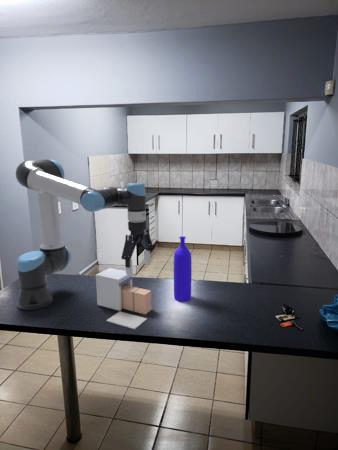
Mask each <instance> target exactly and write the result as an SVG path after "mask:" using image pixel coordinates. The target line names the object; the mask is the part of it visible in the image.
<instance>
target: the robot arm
mask: <svg viewBox="0 0 338 450" xmlns="http://www.w3.org/2000/svg"><path fill="white" fill-rule="evenodd" d="M15 178H16V180H17V182H18V183H19V184H20V185H21V186H22V187H24V188H26V189H29V190H32V191H35V192H36V193H37V198H38V208H39V217H40V218H39V219H40V227H41V239H42V243H41V245H39V250H32V251H28V252H26V253H23V254H21V255H20V256H18V257H17V261H16V262H17V266H16V269H17V275H18V282H19V292H18V293H19V294H18V297H17V302H16V304H17V308H18V309H20V310H22V311H35V310H36V311H37V310H40V309H43V308H45V307H46V308H47V307H48V306H50V305H51V304H52V303H53V301H54V299H53V294H52V292H51V291H50V289H49V286H48V279H47V278H48V277H50V276H52V275H54V274H56V273H58V272H61V271H63V270H64V269H67V267H69V266H70V264H71V261H72V253H71V251H70V250H69V248H68V247H67V246H66V243H64V241H62V232H61V221H60V220H61V219H60V208H59V198H61V199H63V200H67V201H70V202H72V203H76V204H79V205H80V206H82V208H83V209H84V210H85V211H87V212H89V213H90V212H98V211H101V210H104V209H107V208H112V207H115V206H116V207H117V206H120V207H127V228H128V230H129V232H130V234H125V239H124V246H123V249H122V253H121V260H124V264H125V271H126V274H128V275H132V276H133V259H132V256H133V255H134V254H133V253H134V252H135V249H136V246H138V244H139V243H140V244H141V245H142V247H143V248H144V250H143V260H144V261H143V264H144V265H146V266H151V251H153V248H154V244H153V241H152V238H151V236H150V231H149V229H148V228H147V221H146V220H147V212H146V211H147V210H146V209H147V207H146V206H147V205H146V198H147V197H146V196H147V193H146V187H145V184H144V183H143V182H129V183H127V184H126V187H116V186H106V187H105V186H104V187H103V188H102V189H95V188H92V187H89V186H86V185H83V184H80V183H77V182H74V181H71V180H68V179H65V171H64V168H63V166H62V165H61V163H59V162H58V161H56V160H55V159H45V158H44V159H35V160H33V159H31V160H30V159H29V160H25V161H22V162H20V163H19V164H18V165H17V167H16V170H15Z"/></svg>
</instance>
